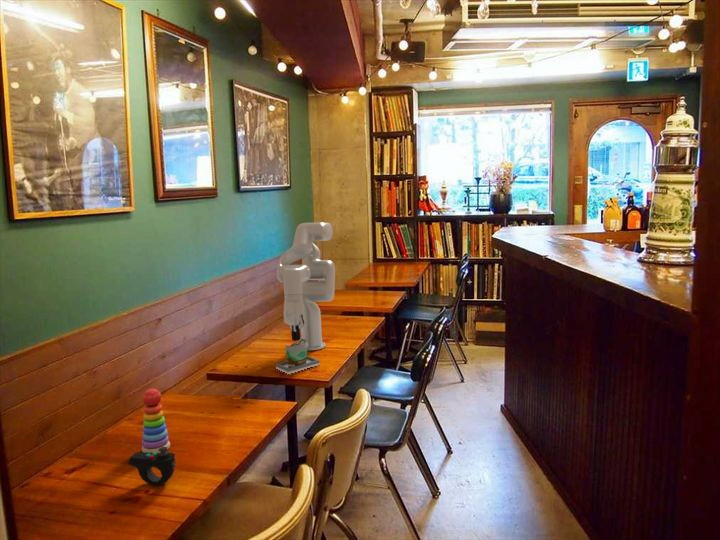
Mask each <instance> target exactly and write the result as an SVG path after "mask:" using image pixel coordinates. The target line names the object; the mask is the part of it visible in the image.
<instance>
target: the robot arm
mask: <svg viewBox="0 0 720 540" xmlns="http://www.w3.org/2000/svg"><path fill="white" fill-rule="evenodd" d="M333 234H334V230H333V226H332V224H331V223H330V222H320V221H319V222H302V223H299V224H298V225H297V227H296V228H295V234H294V238H293V243H292V247H290V248H289V249H287V250H286V251H285V252H283V254H282V255H281V256H280V257H279V260H278V263H277V268H276V279H277V280H278V281H279V282H280V283H283V292H284V293H283V294H284V295H283V296H284V300H283V301H284V302H283V322H284V323H285V324H287V325H288V326H289V328H290V331H291V332H290V333H291V341H293V342H298V341H301V338H302V339H306V340H307V342H308V347H307V352H308V351H309V352H311V351H319V350H322V349H324V348H325V347H326V342H325V341H323V336H322V319H321V309H320V306H318V304H317V302H318V303H321V302H324V303H325V302H331V301H333V300H334V297H335V285H336V284H335V282H336V266H335V263H334V262H333V261H332V260H330V259H329V260H328V259H321V250H320V249H319V247H318V246H317V245H316V244H315V243H314V242H323V241H325V242H327V241H330V240H331V239H332V237H333ZM300 260H302V261H301V262H302V263H301V264H293V263H294V262H297V261H300Z"/></svg>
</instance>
